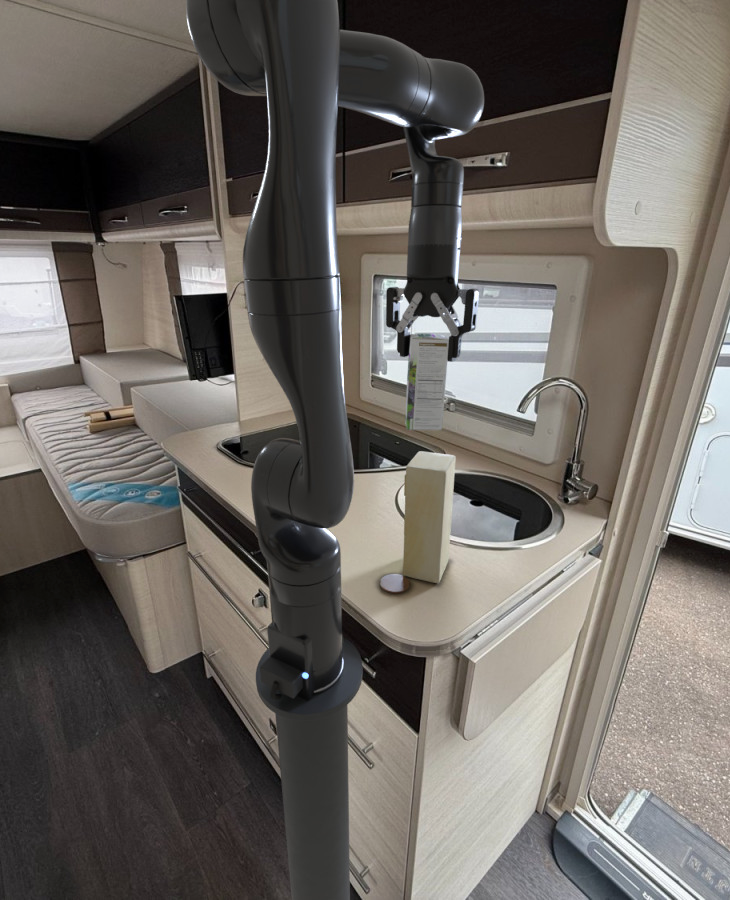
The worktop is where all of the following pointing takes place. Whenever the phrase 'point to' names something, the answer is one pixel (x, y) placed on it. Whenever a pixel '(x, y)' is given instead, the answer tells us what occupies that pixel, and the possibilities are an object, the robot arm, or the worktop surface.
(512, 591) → the worktop surface
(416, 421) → the syrup box
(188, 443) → the worktop surface
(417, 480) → the tall cream pillar
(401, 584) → the brown glossy disc
